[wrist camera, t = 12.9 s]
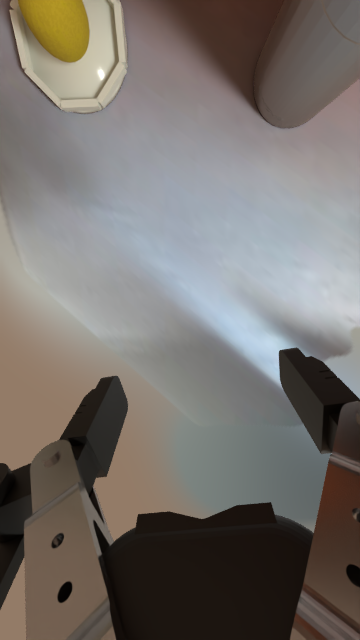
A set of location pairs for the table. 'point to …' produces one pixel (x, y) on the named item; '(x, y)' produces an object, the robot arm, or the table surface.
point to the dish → (85, 74)
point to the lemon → (58, 26)
